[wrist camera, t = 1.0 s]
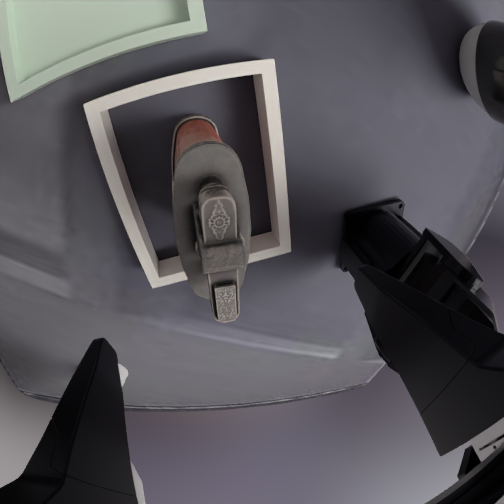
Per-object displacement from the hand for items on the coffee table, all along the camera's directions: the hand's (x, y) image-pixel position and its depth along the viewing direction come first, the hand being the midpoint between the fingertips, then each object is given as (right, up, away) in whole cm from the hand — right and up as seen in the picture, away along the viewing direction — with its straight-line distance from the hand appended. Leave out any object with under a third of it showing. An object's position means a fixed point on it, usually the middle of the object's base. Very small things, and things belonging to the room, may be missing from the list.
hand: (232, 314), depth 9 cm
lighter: (-3, +7, +9) cm, 12 cm away
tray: (-9, +18, -1) cm, 20 cm away
